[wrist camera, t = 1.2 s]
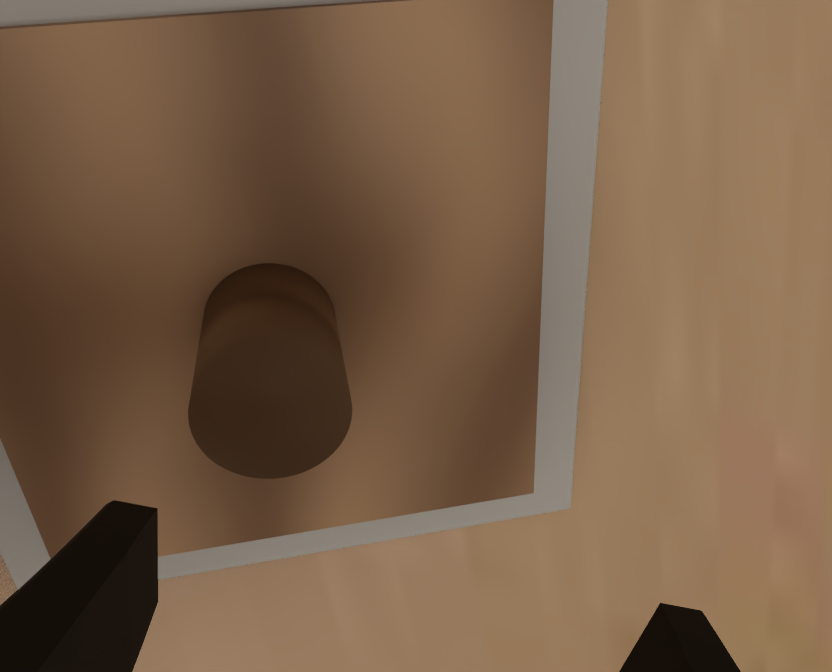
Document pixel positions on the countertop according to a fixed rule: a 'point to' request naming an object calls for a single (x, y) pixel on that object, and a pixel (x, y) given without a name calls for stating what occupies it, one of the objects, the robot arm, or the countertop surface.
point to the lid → (273, 264)
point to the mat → (560, 306)
